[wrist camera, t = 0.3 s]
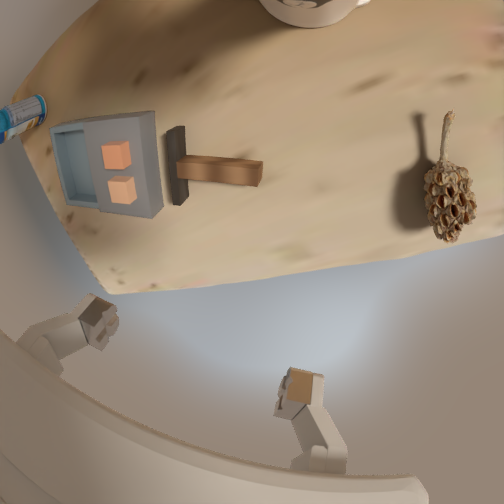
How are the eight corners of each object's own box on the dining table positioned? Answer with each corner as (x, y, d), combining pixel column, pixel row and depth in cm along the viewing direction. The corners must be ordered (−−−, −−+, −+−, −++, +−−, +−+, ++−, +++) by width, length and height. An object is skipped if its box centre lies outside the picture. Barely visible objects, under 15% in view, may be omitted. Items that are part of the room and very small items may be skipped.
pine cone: (462, 218, 40) (482, 249, 33) (419, 225, 44) (434, 258, 36) (453, 101, 29) (484, 112, 22) (403, 106, 33) (424, 116, 25)
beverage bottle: (49, 96, 42) (-18, 125, 27) (46, 127, 48) (-16, 161, 32) (32, 91, 42) (-31, 118, 26) (30, 120, 47) (-29, 151, 32)
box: (61, 122, 46) (49, 128, 43) (98, 116, 45) (85, 121, 41) (76, 197, 59) (66, 204, 56) (112, 200, 57) (102, 209, 54)
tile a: (109, 141, 42) (101, 145, 40) (128, 140, 42) (120, 145, 40) (113, 163, 45) (105, 168, 43) (131, 164, 44) (123, 169, 42)
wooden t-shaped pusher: (264, 130, 41) (259, 135, 38) (260, 205, 50) (255, 216, 47) (177, 125, 44) (166, 131, 41) (182, 195, 52) (173, 204, 49)
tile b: (115, 175, 47) (107, 181, 45) (133, 176, 46) (125, 182, 44) (119, 196, 49) (111, 202, 47) (137, 198, 49) (129, 204, 47)
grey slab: (98, 116, 45) (82, 122, 41) (154, 111, 42) (138, 116, 39) (112, 200, 57) (99, 211, 53) (163, 206, 55) (152, 218, 51)
